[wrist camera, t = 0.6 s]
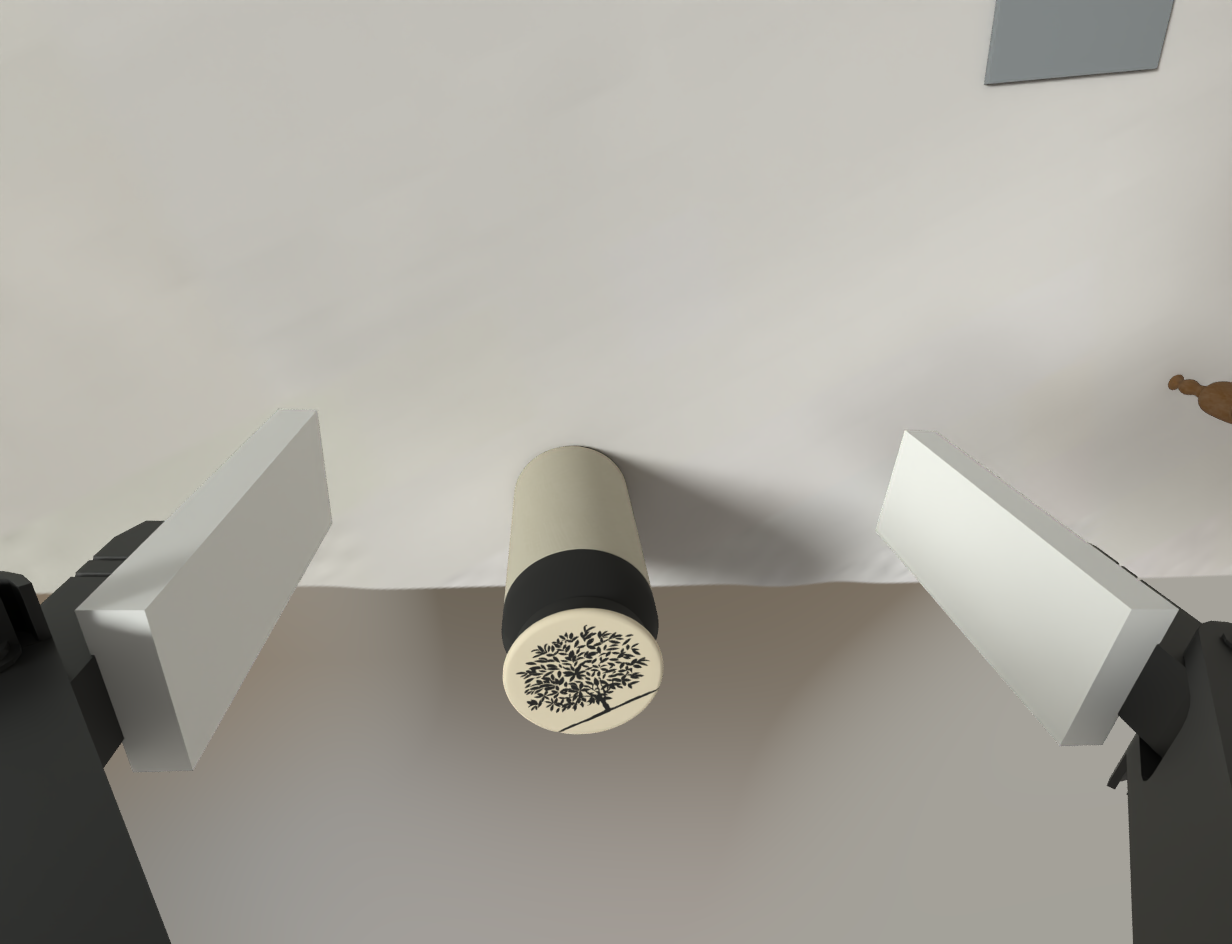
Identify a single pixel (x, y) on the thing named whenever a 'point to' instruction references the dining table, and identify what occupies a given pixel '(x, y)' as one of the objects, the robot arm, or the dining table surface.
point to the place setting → (1207, 396)
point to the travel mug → (577, 598)
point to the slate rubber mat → (1074, 38)
